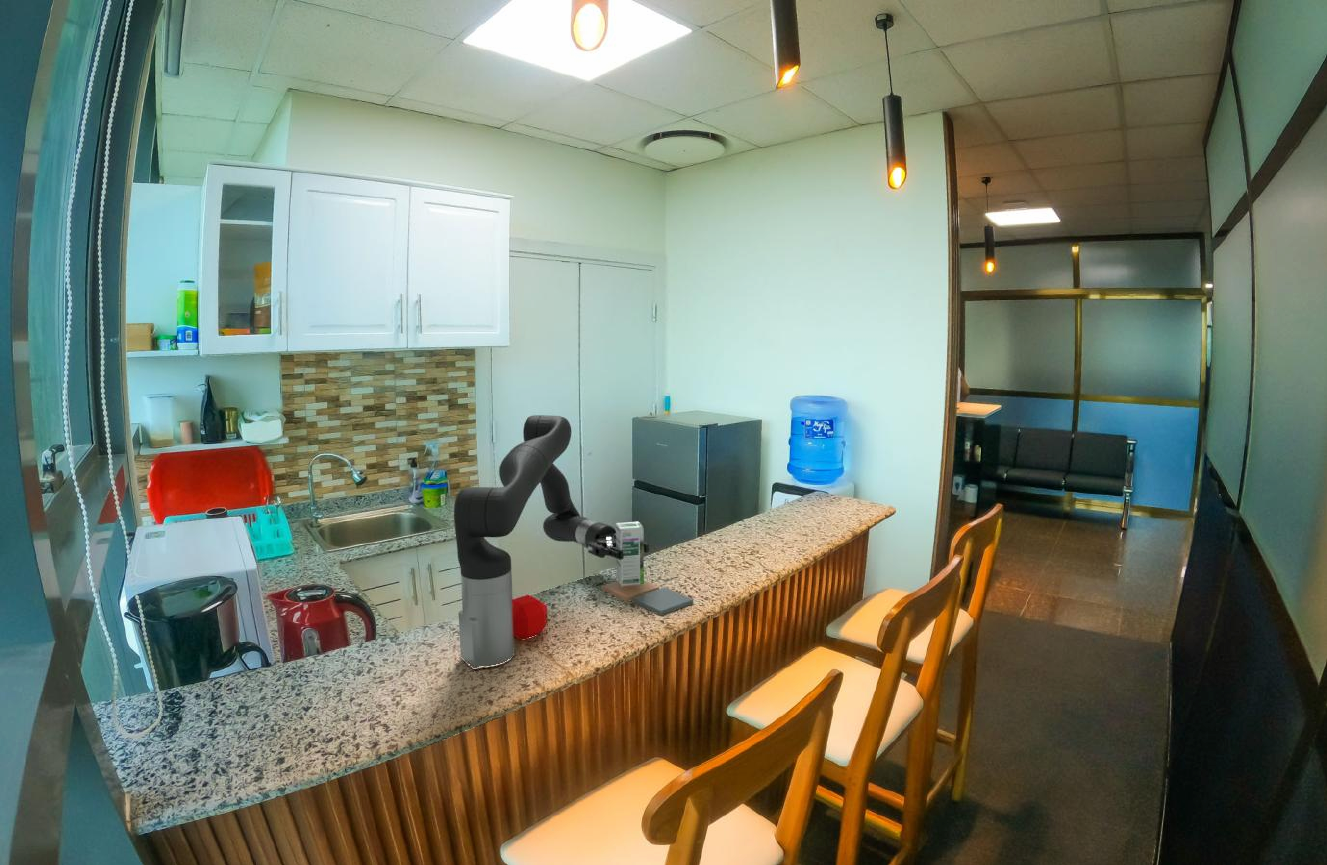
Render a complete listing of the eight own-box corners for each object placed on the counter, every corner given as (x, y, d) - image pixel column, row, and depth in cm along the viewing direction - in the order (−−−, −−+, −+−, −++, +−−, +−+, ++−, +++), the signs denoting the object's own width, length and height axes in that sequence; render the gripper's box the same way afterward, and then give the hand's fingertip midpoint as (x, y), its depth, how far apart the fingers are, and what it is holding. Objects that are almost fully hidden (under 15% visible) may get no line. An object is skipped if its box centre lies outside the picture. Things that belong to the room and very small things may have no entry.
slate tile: (660, 615, 139) (660, 611, 138) (632, 601, 146) (632, 597, 146) (693, 603, 145) (693, 599, 145) (664, 590, 152) (664, 587, 152)
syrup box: (620, 587, 149) (620, 528, 147) (616, 578, 155) (615, 521, 153) (644, 584, 151) (644, 526, 149) (638, 576, 156) (638, 519, 154)
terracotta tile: (626, 601, 146) (626, 597, 146) (601, 589, 154) (601, 585, 153) (659, 590, 153) (659, 586, 152) (633, 579, 160) (633, 575, 160)
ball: (553, 634, 129) (552, 599, 128) (519, 647, 124) (518, 610, 123) (532, 622, 135) (531, 589, 134) (499, 634, 130) (497, 599, 129)
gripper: (572, 527, 157) (611, 542, 145) (617, 517, 167) (658, 531, 154) (572, 556, 158) (611, 573, 146) (618, 544, 168) (658, 560, 155)
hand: (635, 551), depth 150 cm, fingers closed on syrup box, 7 cm apart
